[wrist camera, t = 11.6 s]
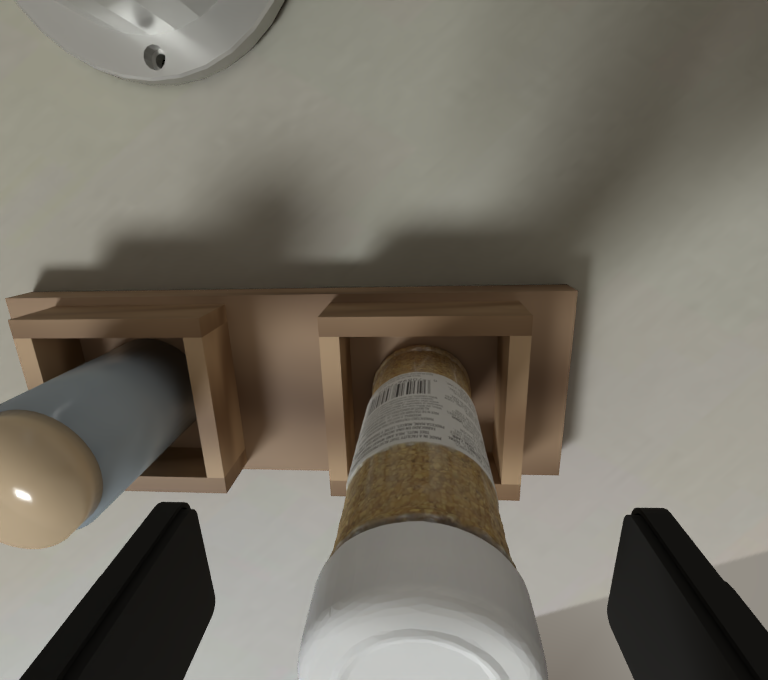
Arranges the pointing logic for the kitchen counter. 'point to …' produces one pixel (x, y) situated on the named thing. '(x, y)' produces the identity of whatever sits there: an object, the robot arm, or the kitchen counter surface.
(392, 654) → the sprinkles bottle
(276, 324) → the spice rail
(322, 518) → the kitchen counter surface
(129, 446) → the spice pot
